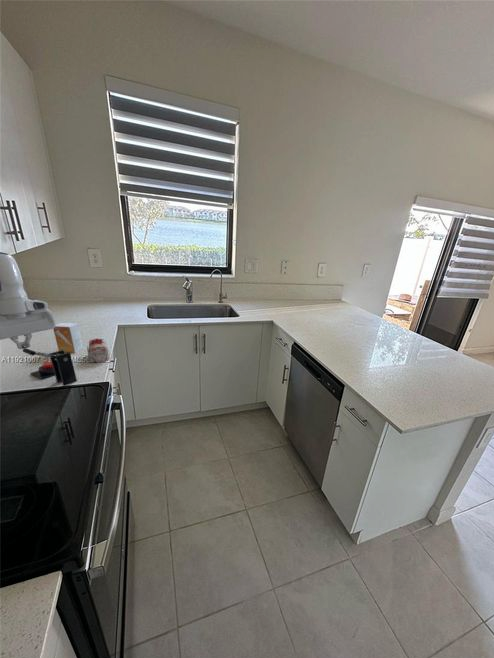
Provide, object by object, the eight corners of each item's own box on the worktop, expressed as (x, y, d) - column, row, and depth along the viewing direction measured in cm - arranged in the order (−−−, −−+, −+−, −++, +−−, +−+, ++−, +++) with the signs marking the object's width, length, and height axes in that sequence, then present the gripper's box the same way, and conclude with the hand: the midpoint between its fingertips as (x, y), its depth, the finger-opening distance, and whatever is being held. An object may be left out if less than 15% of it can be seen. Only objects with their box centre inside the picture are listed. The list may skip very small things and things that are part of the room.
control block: (42, 383, 109) (40, 373, 107) (31, 378, 112) (28, 368, 111) (70, 373, 117) (68, 364, 115) (59, 369, 120) (57, 360, 119)
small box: (58, 352, 137) (51, 326, 133) (67, 348, 143) (61, 322, 138) (75, 353, 137) (69, 326, 132) (83, 348, 143) (78, 323, 138)
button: (46, 370, 111) (45, 366, 110) (41, 368, 112) (40, 364, 112) (56, 367, 114) (55, 363, 113) (51, 365, 115) (50, 361, 115)
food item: (111, 363, 128) (107, 342, 124) (90, 367, 124) (85, 345, 120) (108, 353, 138) (104, 334, 134) (88, 356, 134) (84, 336, 130)
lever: (29, 356, 93) (31, 349, 93) (21, 353, 95) (23, 346, 95) (67, 363, 104) (69, 356, 104) (59, 360, 106) (62, 354, 106)
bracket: (57, 394, 101) (48, 361, 96) (43, 388, 105) (33, 355, 100) (90, 381, 111) (84, 350, 106) (77, 376, 115) (69, 346, 110)
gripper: (-29, 313, 80) (-12, 359, 85) (52, 302, 97) (62, 341, 102) (-38, 310, 83) (-21, 355, 88) (42, 300, 99) (52, 338, 105)
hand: (24, 347), depth 95 cm, fingers closed
